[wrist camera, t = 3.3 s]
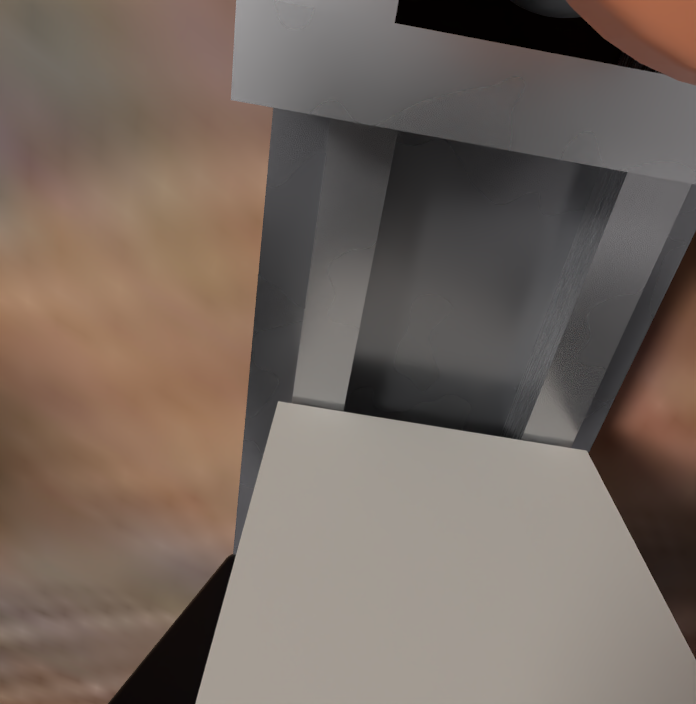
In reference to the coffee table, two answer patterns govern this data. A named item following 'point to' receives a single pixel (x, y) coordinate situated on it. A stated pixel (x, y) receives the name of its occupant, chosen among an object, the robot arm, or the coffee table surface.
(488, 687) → the carriage
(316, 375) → the rail
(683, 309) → the coffee table surface
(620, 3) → the button
